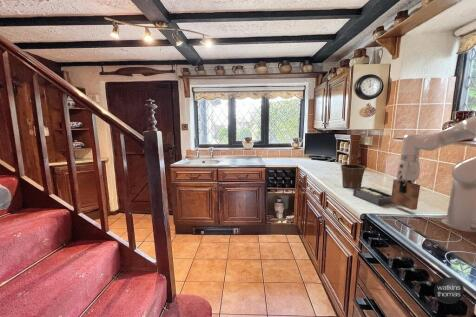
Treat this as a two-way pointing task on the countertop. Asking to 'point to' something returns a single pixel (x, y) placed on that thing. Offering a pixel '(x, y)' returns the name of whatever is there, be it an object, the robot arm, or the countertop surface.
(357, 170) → the plant pot
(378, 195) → the offcut
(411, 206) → the walnut board
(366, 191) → the offcut
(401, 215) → the countertop surface
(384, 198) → the rack
